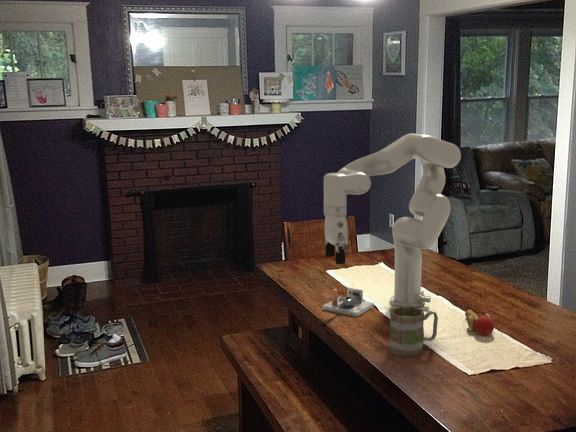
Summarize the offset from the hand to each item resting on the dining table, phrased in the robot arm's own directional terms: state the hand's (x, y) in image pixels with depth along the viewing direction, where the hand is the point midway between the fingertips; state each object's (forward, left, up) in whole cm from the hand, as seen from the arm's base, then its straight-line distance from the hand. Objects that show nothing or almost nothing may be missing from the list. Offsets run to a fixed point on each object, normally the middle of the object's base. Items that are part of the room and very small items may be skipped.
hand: (335, 260), depth 221 cm
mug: (-33, +9, -21) cm, 41 cm away
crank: (+2, -7, -19) cm, 20 cm away
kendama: (-43, -18, -21) cm, 51 cm away
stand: (+2, -11, -21) cm, 24 cm away
